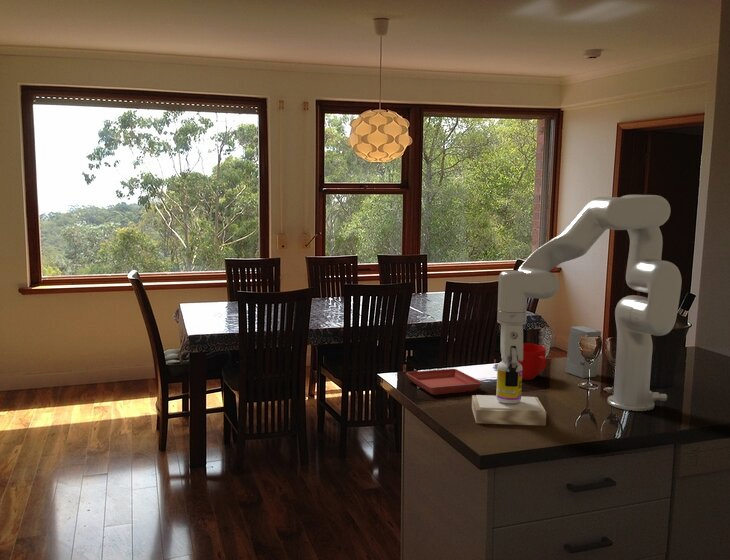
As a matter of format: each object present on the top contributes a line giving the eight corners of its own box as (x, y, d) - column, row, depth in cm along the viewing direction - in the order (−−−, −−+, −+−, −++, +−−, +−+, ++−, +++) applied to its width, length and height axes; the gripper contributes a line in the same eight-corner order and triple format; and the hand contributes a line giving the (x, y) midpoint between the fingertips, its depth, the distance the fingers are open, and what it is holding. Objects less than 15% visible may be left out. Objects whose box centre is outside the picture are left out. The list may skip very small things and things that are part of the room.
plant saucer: (454, 377, 225) (455, 367, 225) (483, 392, 209) (484, 382, 208) (404, 382, 219) (405, 372, 218) (430, 398, 202) (430, 387, 202)
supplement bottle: (521, 405, 181) (523, 357, 180) (495, 403, 183) (497, 356, 181) (520, 397, 188) (522, 351, 186) (496, 395, 189) (497, 350, 187)
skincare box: (564, 372, 231) (567, 326, 229) (580, 370, 235) (582, 324, 233) (583, 379, 224) (586, 331, 222) (599, 376, 227) (602, 329, 225)
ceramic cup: (527, 387, 213) (529, 356, 212) (496, 373, 229) (497, 344, 227) (560, 383, 219) (562, 352, 217) (528, 370, 234) (529, 341, 233)
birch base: (536, 409, 192) (537, 395, 191) (545, 425, 179) (546, 410, 178) (471, 407, 193) (472, 393, 192) (476, 423, 180) (476, 408, 179)
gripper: (531, 323, 173) (528, 392, 176) (520, 311, 191) (518, 373, 193) (501, 323, 174) (499, 391, 176) (493, 311, 191) (491, 373, 194)
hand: (509, 381), depth 185 cm, fingers open, 7 cm apart
